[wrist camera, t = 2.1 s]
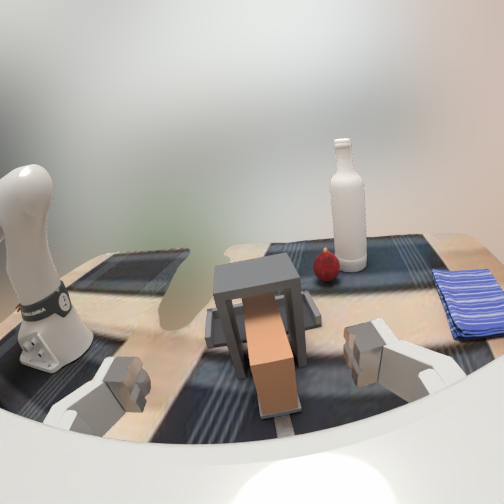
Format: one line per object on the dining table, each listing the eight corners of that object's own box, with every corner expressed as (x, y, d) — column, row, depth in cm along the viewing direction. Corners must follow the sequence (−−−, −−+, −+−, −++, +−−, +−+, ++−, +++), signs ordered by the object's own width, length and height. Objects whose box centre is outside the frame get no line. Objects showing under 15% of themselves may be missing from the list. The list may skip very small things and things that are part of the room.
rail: (292, 512, 17) (292, 512, 17) (259, 341, 45) (259, 340, 45) (311, 508, 17) (312, 508, 17) (271, 339, 45) (271, 338, 45)
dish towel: (453, 346, 33) (458, 333, 32) (428, 276, 53) (430, 265, 52) (526, 336, 27) (531, 324, 26) (487, 274, 47) (489, 263, 46)
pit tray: (208, 348, 45) (204, 337, 45) (210, 319, 54) (207, 309, 53) (321, 326, 46) (321, 315, 45) (308, 300, 54) (307, 290, 53)
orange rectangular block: (261, 419, 30) (246, 367, 26) (251, 348, 43) (239, 297, 40) (301, 411, 30) (297, 357, 26) (282, 342, 43) (274, 290, 40)
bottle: (359, 275, 59) (351, 138, 48) (329, 269, 64) (317, 140, 53) (371, 261, 64) (364, 137, 53) (343, 256, 70) (333, 139, 58)
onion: (343, 285, 57) (342, 251, 54) (317, 290, 57) (315, 255, 54) (336, 273, 62) (334, 241, 59) (312, 277, 62) (309, 245, 59)
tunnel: (237, 379, 38) (212, 293, 32) (235, 345, 45) (214, 266, 39) (306, 365, 38) (299, 277, 32) (295, 334, 45) (286, 252, 40)
